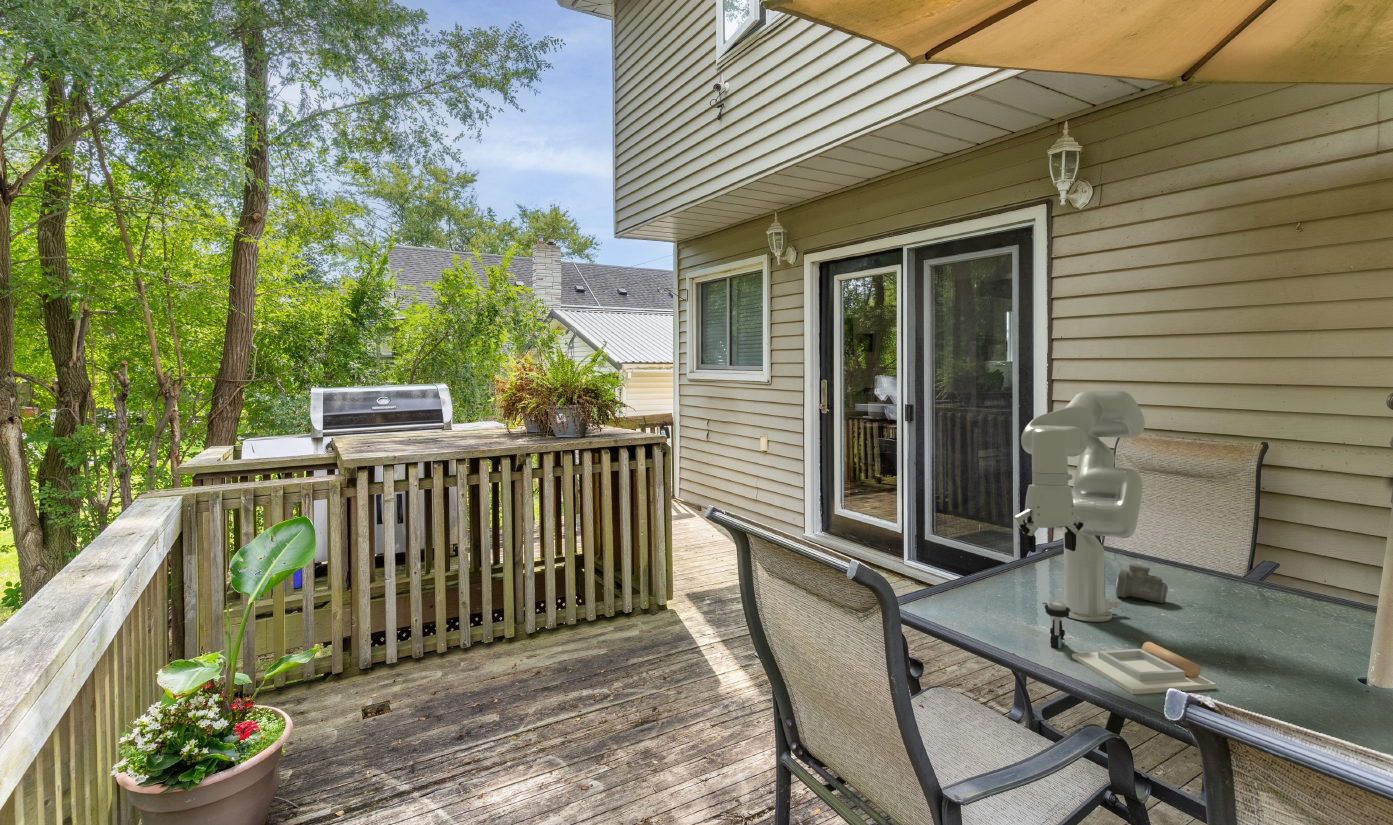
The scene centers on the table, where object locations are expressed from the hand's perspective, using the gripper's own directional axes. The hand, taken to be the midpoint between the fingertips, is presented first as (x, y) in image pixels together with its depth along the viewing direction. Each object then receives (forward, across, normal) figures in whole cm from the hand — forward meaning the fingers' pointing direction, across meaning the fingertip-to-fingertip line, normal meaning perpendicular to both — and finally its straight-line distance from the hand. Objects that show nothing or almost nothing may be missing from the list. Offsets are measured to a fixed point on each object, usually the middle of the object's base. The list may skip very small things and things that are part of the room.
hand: (1050, 550), depth 154 cm
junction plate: (+22, -9, +18) cm, 30 cm away
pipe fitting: (+23, -44, -28) cm, 57 cm away
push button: (+23, -1, +1) cm, 23 cm away
